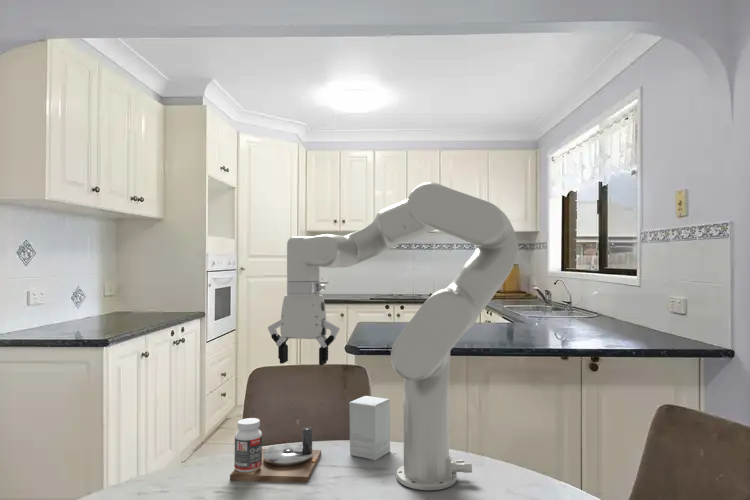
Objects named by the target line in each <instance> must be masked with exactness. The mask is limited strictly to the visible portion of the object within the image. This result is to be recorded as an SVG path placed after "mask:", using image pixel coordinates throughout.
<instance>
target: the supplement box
mask: <svg viewBox="0 0 750 500" xmlns="http://www.w3.org/2000/svg"><path fill="white" fill-rule="evenodd" d="M348 404H349V405H348V408H349V455H350V456H354V457H357V458H358V457H360V458H363V459H368V460H372V461H376V460H378V459H380V458H382V457H383V456H385V455H386V454H388V453H390V452H391V416H390V414H391V413H390V411H391V410H390V399H389V398H383V397H378V396H370V395H363V396H361V397H359V398H358V397H357V398H356V399H354V400H352V401H349V402H348Z"/></svg>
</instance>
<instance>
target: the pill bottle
mask: <svg viewBox="0 0 750 500" xmlns="http://www.w3.org/2000/svg"><path fill="white" fill-rule="evenodd" d="M236 427H237V429H238V430H237V431H236V432H235V434H234V463H233V464H234V470H237V471H239V472H253V471H256V470H258V469H259V468H260V467H261V466H262V449H263V432H262V430H260V429H259V428H260V427H261V420H260V418H258V417H257V418H256V417H249V418H248V417H247V418H243V419H239V420H238V421H237V426H236Z"/></svg>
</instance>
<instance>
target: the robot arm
mask: <svg viewBox="0 0 750 500" xmlns="http://www.w3.org/2000/svg"><path fill="white" fill-rule="evenodd" d="M435 230H437V231H439V232H441V233H445V234H447V235H450V236H452V237H454V238H456V239H457V238H458V239H460V240H463V241H465V242H468V243H470V244H472V245H475V250H474V252H473V254H472V255H471V256H470V258H469V259H468V260H467V261H466V262H465V263H464V265H463V266H462V267H461V269H460V271H458V273H457V275H456V276H455V277H454V278H453V280H451V282H450V283H449V284H448V286H447V287H445V288H442V289H439V290H437V291H435V292H433V293H432V294H431V295H430V296H429V297H428V298H426V300H425V301H424V302H423V304H421V305H420V308H418V310H417V311H416V312H415V313H414V314H415V315H413V317H412V318H411V319H410V320H409V322H408V323H407V324H406V326H404V329H402V331H401V332H400V334H399V335H398V336H397V338H395V339H396V340H395V341H394V342H393V344H392V348H391V351H390V361H391V365H392V368H393V370H394V371H395V372H396V374H397V375H398V376H399V377H401V378H403V393H402V394H403V404H402V405H403V407H402V409H403V414H402V415H403V419H402V421H403V465H402V466H400V467H399V468H398V469H397V470H396V480H397V481H398V482H399V483H400V484H401V485H402V486H405V487H407V488H410V489H414V490H419V491H440V490H445V489H447V488H450V487H452V486H454V485H455V484H456V482H457V481H458V480H457V479H458V477H457V473H466V474H468V473H470V474H471V473H473V466H472V465H473V464H472V462H465V459H454V458H452V456H451V453H450V433H449V432H450V427H449V426H450V425H449V423H450V422H449V420H450V418H449V414H450V413H449V404H450V403H449V402H450V399H449V397H450V396H449V390H450V386H449V385H450V381H449V380H450V368H451V350H452V349H453V348H454V347H455V346H456V344H457V342H458V341H460V339H461V338H462V336H464V334H465V333H466V332H467V331H470V329H471V328H473V326H474V324H475V323H476V321H477V320H478V318H479V316H480V315H481V314H482V312H483V310H485V308H486V307H487V305H488V304H489V303H490V302H491V300H492V299H493V298H494V296H495V295H496V293H497V292H498V290H499V289H500V288H501V287H502V286H503V284H504V283H505V282H506V280H507V278H508V277H509V275H510V273H511V272H512V270H513V268H514V266H515V263H516V260H517V256H518V238H517V235H516V232H515V229H514V227H513V225H512V223H511V221H510V219H509V217H508V215H506V213H505V212H504V211H503V210H502V209H500V208H499V207H498V206H497V205H495V204H493V203H491V202H490V201H487V200H484V199H482V198H478V197H475V196H473V195H469V194H468V193H464V192H462V191H459V190H455V189H453V188H450V187H447V186H445V185H442V184H439V183H437V182H431V181H429V182H423V183H420V184H419V185H416V187H414V188H413V189H412V190H411V192H410V193H409V195H408V197H407V198H406V199H404V200H401V201H399V202H397V203H394V204H392V205H389V206H387V207H385V208H382V209H381V210H379V211H378V212H377V213H376V215H375V218H374V220H372V222H371V223H369V224H368V225H366V226H365V227H363V228H361V229H359V230H357V231H353V232H351V233H349V234H347V235H339V234H331V233H330V234H329V233H326V234H319V235H315V236H309V235H308V236H307V235H306V236H305V235H302V236H301V235H297V236H291V237H289V239H287V242H286V294H285V295H284V296H283V301H282V306H281V314H280V320H278V321H276V322H274V323H273V324H272V323H271V325H268V327H267V330H268V332H269V334H270V337H271V338H272V340H273V342H274V343H275V344H276V346H277V348H278V349H277V351H278V355H277V357H278V360H279V364H285V363H287V362H288V361H289V345H288V344H287V343H288V341H289V340H290V339H295V340H297V339H301V340H316V341H317V343H319V345H320V347H319V348H318V365H320V366H323V365H326V364H327V361H329V346H330V345H331V344H332V343H333V342H334V341H335V340H336V337H337V336H338V334H339V331H340V328H339V326H337V325H335V324H333V323H332V322H330V321H328V320H327V312H326V306H325V305H326V303H325V299H324V295H323V294H320V293H321V292H322V291H325V290H326V284H323V283H321V281H320V267H321V268H331V269H332V268H334V269H335V268H349V267H352V266H355V265H357V264H361V263H362V262H365V261H369V260H370V259H372V258H375V257H377V256H379V255H380V254H382V253H385V252H387V251H389V250H391V249H393V248H394V247H396V246H398V245H401V244H404V243H405V242H408V241H411V240H413V239H415V238H418V237H421V236H423V235H426V234H428V233H431V232H434V231H435ZM278 328H280V334H278V331H277V329H278ZM327 329H328V330H329V331H330V334H329V336H328V337H327V336H326V335H327V331H328V330H327Z"/></svg>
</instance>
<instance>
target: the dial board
mask: <svg viewBox="0 0 750 500" xmlns="http://www.w3.org/2000/svg"><path fill="white" fill-rule="evenodd" d="M266 449H267V448H262V466H261V467H260V468H259V469H258V470H256V471H253V472H239V471H237V470H235V469H234V470H233V471H232V472H231V473H230V474H229V481H231V482H268V483H269V482H270V483H271V482H272V483H306V484H308V483H309V481H310V479H311V477H312V475H313V473H314V471H315V469H316V467H317V465H318V463H319V460H320V459H321V457H322V449H312V450H313V455H312V458H311V459H309V460H308V461H306V462H303V463H300V464H296V465H287V466H280V465H272V464H269V463H267V462H265V461H264V459H263V453H264V451H265V450H266Z"/></svg>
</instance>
